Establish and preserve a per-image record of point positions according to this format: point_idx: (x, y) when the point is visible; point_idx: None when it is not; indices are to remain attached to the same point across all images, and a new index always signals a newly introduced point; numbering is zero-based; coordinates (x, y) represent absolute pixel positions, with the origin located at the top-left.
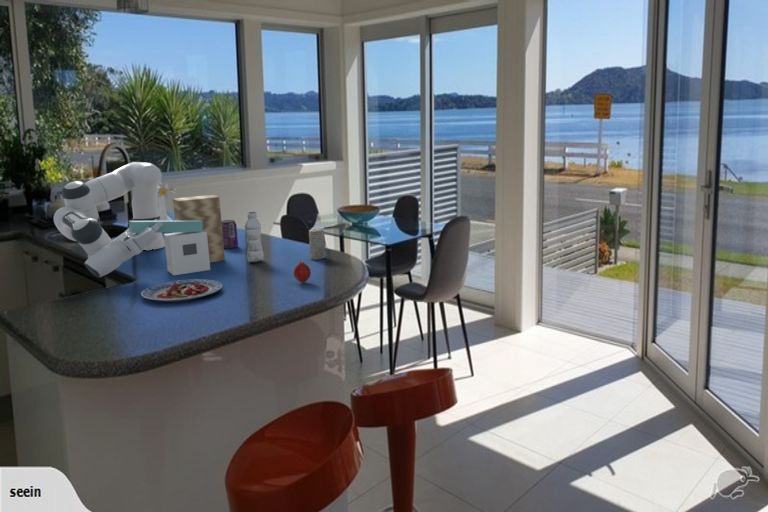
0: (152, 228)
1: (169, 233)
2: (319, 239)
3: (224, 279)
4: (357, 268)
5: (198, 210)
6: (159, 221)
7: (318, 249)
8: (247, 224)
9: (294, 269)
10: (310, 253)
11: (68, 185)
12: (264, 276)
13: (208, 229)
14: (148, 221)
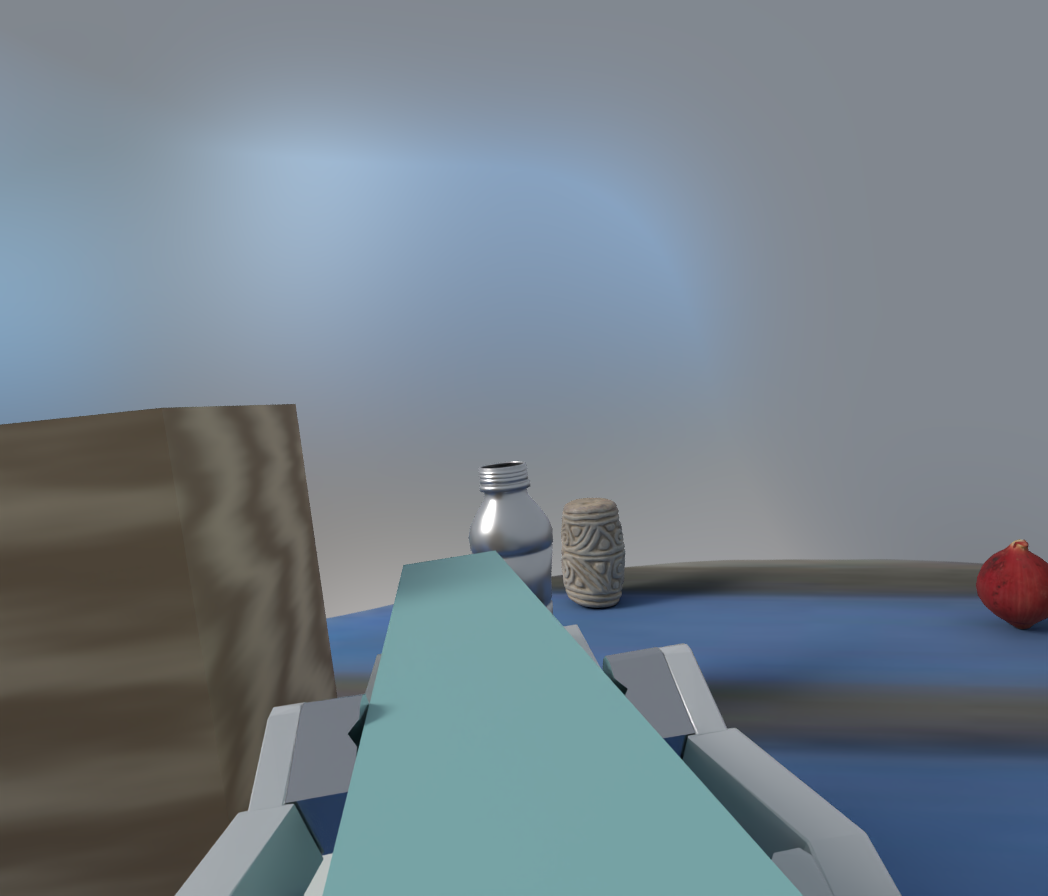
0: (884, 892)
1: (325, 858)
2: (621, 528)
3: (972, 849)
4: (784, 562)
5: (257, 507)
6: (671, 653)
7: (624, 563)
8: (531, 524)
9: (1037, 581)
10: (603, 588)
11: None
12: (883, 702)
13: (301, 651)
14: (612, 800)
